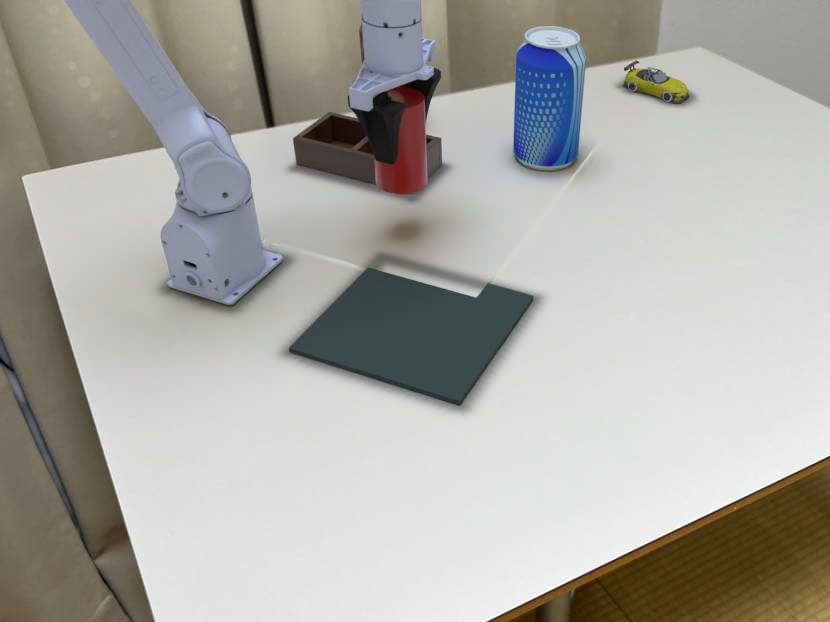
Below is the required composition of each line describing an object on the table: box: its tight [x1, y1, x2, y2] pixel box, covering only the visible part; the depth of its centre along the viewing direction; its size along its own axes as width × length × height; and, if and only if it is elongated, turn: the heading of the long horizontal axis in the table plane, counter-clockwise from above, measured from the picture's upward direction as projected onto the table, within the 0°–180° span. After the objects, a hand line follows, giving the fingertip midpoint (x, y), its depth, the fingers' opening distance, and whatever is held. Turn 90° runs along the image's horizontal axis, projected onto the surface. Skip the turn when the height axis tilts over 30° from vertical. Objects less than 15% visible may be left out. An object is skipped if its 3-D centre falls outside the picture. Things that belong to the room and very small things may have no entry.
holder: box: [292, 111, 443, 195], centre depth 111 cm, size 8×16×4 cm, turn 68°
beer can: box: [512, 25, 587, 171], centre depth 110 cm, size 8×8×16 cm
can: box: [374, 86, 429, 195], centre depth 94 cm, size 6×6×10 cm
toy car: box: [622, 60, 691, 104], centre depth 133 cm, size 5×10×3 cm, turn 57°
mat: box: [288, 267, 534, 405], centre depth 89 cm, size 18×18×1 cm
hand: (399, 149), depth 94 cm, fingers closed on can, 5 cm apart
